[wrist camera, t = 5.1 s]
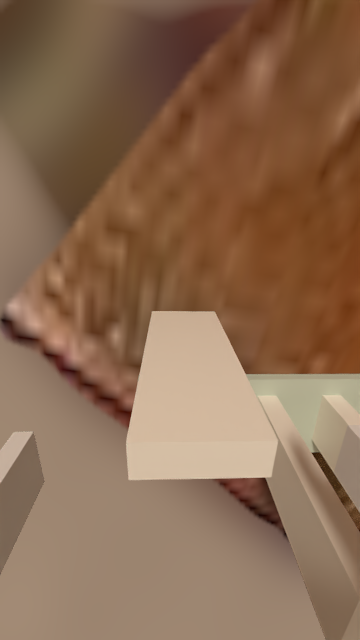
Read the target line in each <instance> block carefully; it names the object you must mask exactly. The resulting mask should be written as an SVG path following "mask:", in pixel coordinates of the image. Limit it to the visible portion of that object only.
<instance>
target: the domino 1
mask: <svg viewBox="0 0 360 640" xmlns="http://www.w3.org/2000/svg"><path fill="white" fill-rule="evenodd" d="M277 444H278V439H277V437H276V435H275V433H274V431H273V429H272V427H271V425H270V423H269V421H268V419H267V417H266V415H265V413H264V411H263V409H262V407H261V405H260V403H259V401H258V399H257V397H256V395H255V393H254V391H253V389H252V387H251V384H250V382H249V380H248V378H247V376H246V374H245V372H244V370H243V368H242V366H241V364H240V362H239V360H238V358H237V356H236V354H235V352H234V350H233V348H232V346H231V344H230V342H229V340H228V338H227V336H226V334H225V332H224V330H223V328H222V326H221V324H220V322H219V320H218V317H217V315H216V313H215V312H189V311H152V315H151V320H150V325H149V330H148V335H147V340H146V345H145V350H144V355H143V360H142V365H141V370H140V375H139V380H138V385H137V390H136V395H135V400H134V405H133V410H132V415H131V420H130V425H129V430H128V435H127V440H126V448H127V464H128V478H129V480H154V479H205V478H206V479H210V478H263V477H271V476H272V470H273V465H274V460H275V455H276V450H277Z"/></svg>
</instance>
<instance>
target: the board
mask: <svg viewBox="0 0 360 640" xmlns="http://www.w3.org/2000/svg"><path fill="white" fill-rule="evenodd" d="M246 376H247V378H248V380H249V382H250V384H251V387H252V389H253V391H254V393H255V395H256V397H257V398H258V396H277V397H278V399H279V401H280V402H281V404H282V406H283V407H284V409H285V411H286V412H287V414H288V415H289V417H290V419H291V420H292V422H293V424H294V425H295V427H296V429H297V430H298V432H299V433H300V435H301V437H302V438H303V440H304V442H305V443H306V445H307V447H308V448H309V450H310V451H311V452H320V451H319V450H318V448H317V446H316V445H315V443H314V442H313V440H312V436H313V432H314V428H315V424H316V420H317V416H318V412H319V408H320V404H321V400H322V396H323V395H341V396H342V397H343V398H344V399H345V400H346V401H347V402H348V403H349V404H350V405H351V406H352V407H353V408H354V409H355V410H356V411H357V412H358V413H359V414H360V374H246ZM138 380H139V378H138Z"/></svg>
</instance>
